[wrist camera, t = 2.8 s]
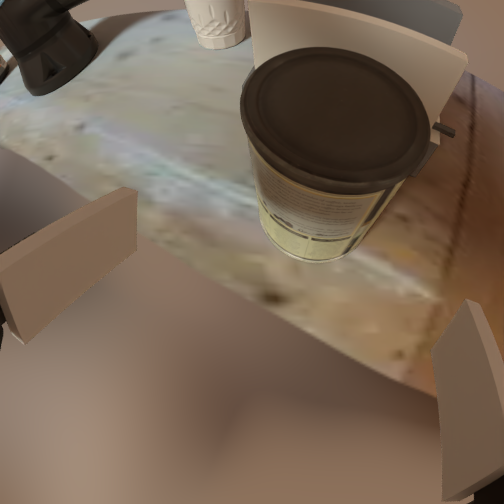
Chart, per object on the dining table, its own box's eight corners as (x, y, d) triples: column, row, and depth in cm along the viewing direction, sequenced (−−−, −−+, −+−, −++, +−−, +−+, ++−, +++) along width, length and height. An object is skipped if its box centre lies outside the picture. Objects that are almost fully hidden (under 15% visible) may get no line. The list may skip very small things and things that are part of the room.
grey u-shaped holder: (283, 56, 34) (280, -43, 19) (420, 97, 31) (460, 6, 16) (247, 125, 31) (228, 4, 16) (416, 177, 28) (484, 76, 13)
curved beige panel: (263, 108, 30) (253, -5, 17) (430, 161, 27) (493, 68, 14) (259, 116, 30) (247, 1, 16) (430, 170, 27) (495, 77, 13)
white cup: (205, 25, 38) (193, -26, 28) (255, 25, 37) (249, -29, 27) (187, 52, 36) (170, -4, 26) (241, 53, 35) (232, -8, 25)
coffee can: (262, 158, 29) (250, 41, 16) (365, 166, 28) (410, 59, 15) (251, 260, 27) (226, 177, 13) (369, 268, 26) (447, 199, 12)
